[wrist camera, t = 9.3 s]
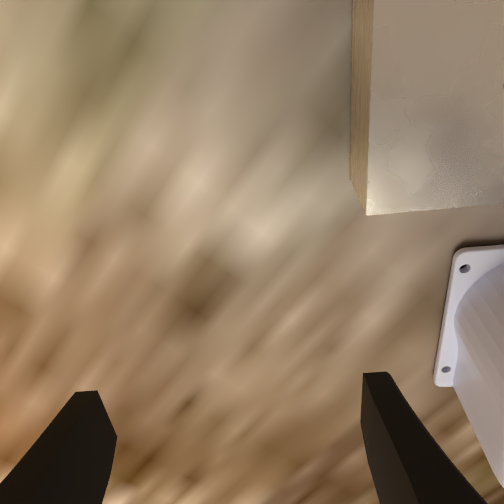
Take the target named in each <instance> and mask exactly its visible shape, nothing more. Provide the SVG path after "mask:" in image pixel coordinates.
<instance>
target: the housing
mask: <svg viewBox="0 0 504 504" xmlns="http://www.w3.org/2000/svg"><path fill="white" fill-rule="evenodd" d="M350 180H351V183H352V185H353V187H354V189H355V192H356V194H357V196H358V198H359V201H360V203H361V205H362V207H363V210H364V212H365V214H366V215H377V214H389V213H400V212H412V211H424V210H435V209H447V208H459V207H470V206H482V205H494V204H504V0H353V3H352V70H351V136H350Z"/></svg>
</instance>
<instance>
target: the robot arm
mask: <svg viewBox="0 0 504 504" xmlns="http://www.w3.org/2000/svg"><path fill="white" fill-rule="evenodd" d="M465 264H467V266H466V267H464V268H462V269H460V267H461V266H462V265H465ZM433 380H434V382H435V384H436V385H437V386H439V387H448V386H453V387H454V389H455V391H456V393H457V395H458V398H459V400H460V402H461V404H462V406H463V408H464V410H465V413H466V415H467V417H468V419H469V421H470V423H471V425H472V428H473V430H474V432H475V434H476V436H477V438H478V440H479V443H480V445H481V447H482V449H483V451H484V453H485V455H486V457H487V460H488V462H489V464H490V466H491V468H492V470H493V472H494V474H495V476H496V478H497V479H498V481H499V482H500V484H501V485H502V487H503V488H504V245H493V246H480V247H467V248H462V249H460V250H458V251H457V252H456V253H455V254H454V256H453V261H452V267H451V273H450V279H449V285H448V291H447V297H446V303H445V309H444V315H443V321H442V327H441V333H440V339H439V345H438V351H437V357H436V363H435V369H434V375H433ZM361 428H362V433H363V439H364V444H365V449H366V454H367V459H368V464H369V467H370V471H371V474H372V477H373V481H374V484H375V488H376V491H377V495H378V498H379V501H380V504H487V502H486V501H485V500H484V499H483V498H482V497H481V496H480V495H479V494H478V492H477V491H476V490H475V489H474V488H473V487H472V486H471V484H470V483H469V482H468V481H467V480H466V479H465V477H464V476H463V475H462V474H461V473H460V471H459V470H458V469H457V468H456V467H455V465H454V464H453V463H452V462H451V460H450V459H449V458H448V457H447V455H446V454H445V453H444V452H443V450H442V449H441V448H440V446H439V445H438V444H437V443H436V441H435V440H434V439H433V437H432V436H431V435H430V433H429V432H428V431H427V429H426V428H425V427H424V425H423V424H422V422H421V421H420V420H419V418H418V417H417V415H416V414H415V412H414V411H413V410H412V408H411V407H410V405H409V404H408V402H407V401H406V399H405V398H404V396H403V395H402V393H401V391H400V390H399V388H398V387H397V385H396V383H395V382H394V380H393V378H392V377H391V375H390V374H389V373H388V372H374V373H363V384H362V404H361ZM116 441H117V435H116V433H115V431H114V428H113V426H112V424H111V421H110V419H109V417H108V414H107V412H106V410H105V407H104V405H103V403H102V400H101V398H100V396H99V393H98V391H83V392H75V393H74V395H73V396H72V397H71V398H70V399H69V401H68V402H67V403H66V404H65V406H64V407H63V408H62V409H61V411H60V412H59V413H58V414H57V416H56V417H55V418H54V419H53V421H52V422H51V423H50V424H49V426H48V427H47V428H46V429H45V431H44V432H43V433H42V434H41V436H40V437H39V438H38V439H37V441H36V442H35V443H34V444H33V446H32V447H31V448H30V449H29V450H28V452H27V453H26V454H25V455H24V456H23V458H22V459H21V460H20V461H19V462H18V464H17V465H16V466H15V467H14V468H13V470H12V471H11V472H10V473H9V474H8V475H7V476H6V478H5V479H4V480H3V481H2V482H1V483H0V504H102V501H103V498H104V495H105V491H106V488H107V485H108V481H109V478H110V474H111V469H112V463H113V458H114V453H115V447H116Z"/></svg>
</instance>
